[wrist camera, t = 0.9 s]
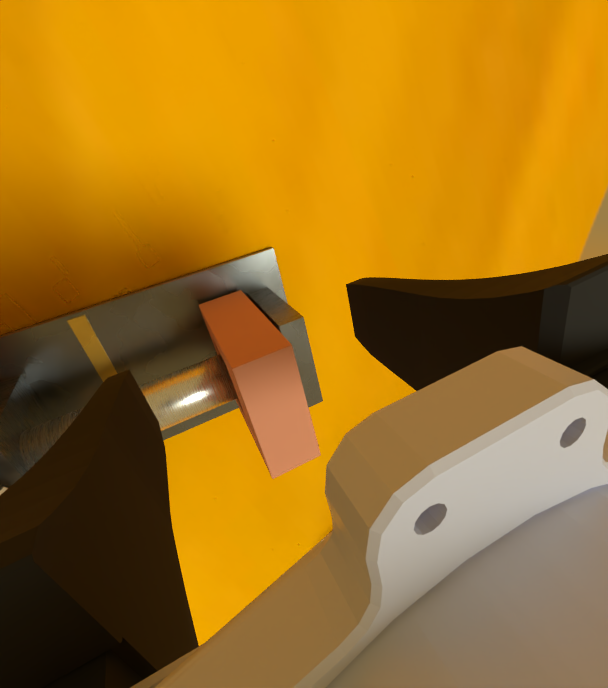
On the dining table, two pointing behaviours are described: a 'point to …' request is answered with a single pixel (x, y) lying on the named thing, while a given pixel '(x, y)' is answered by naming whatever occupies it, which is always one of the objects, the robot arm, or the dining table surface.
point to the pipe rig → (136, 357)
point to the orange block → (263, 381)
